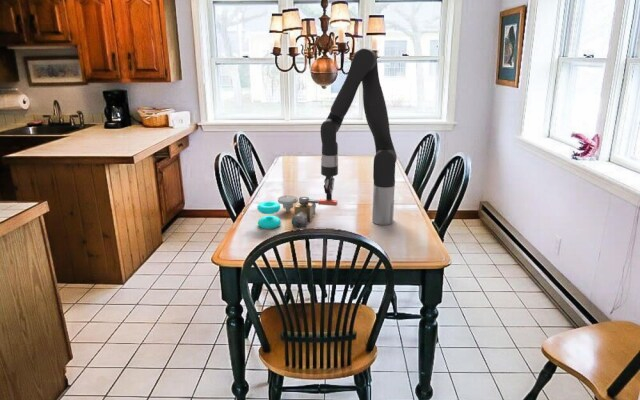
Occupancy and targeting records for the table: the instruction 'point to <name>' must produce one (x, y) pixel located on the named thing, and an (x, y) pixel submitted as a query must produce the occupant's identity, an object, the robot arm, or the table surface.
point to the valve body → (303, 214)
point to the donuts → (269, 208)
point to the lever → (317, 201)
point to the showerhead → (287, 201)
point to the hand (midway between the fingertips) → (329, 201)
